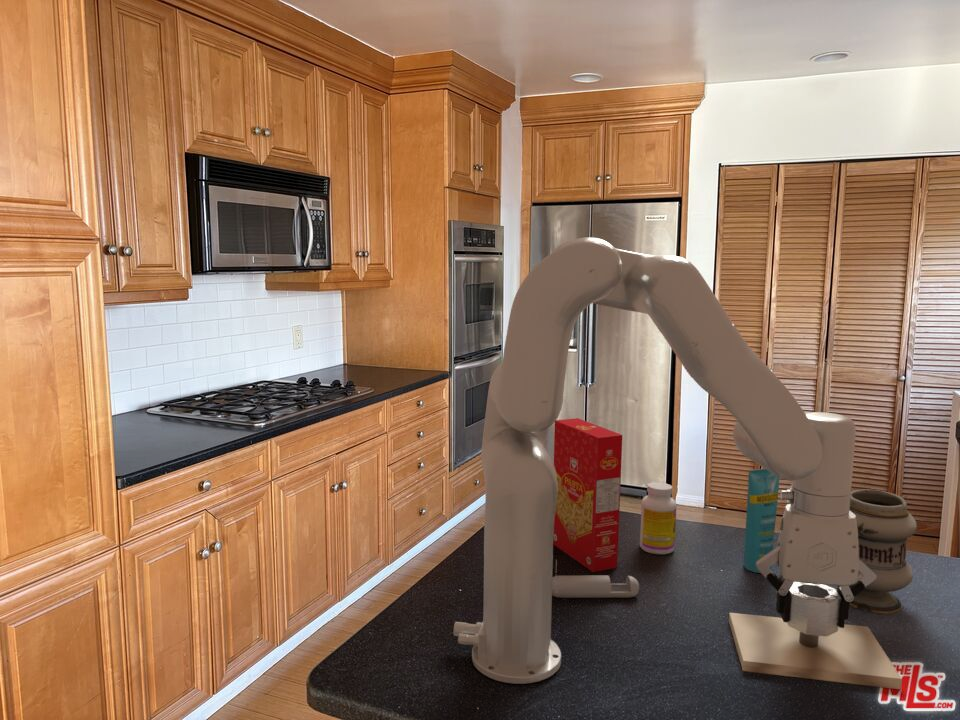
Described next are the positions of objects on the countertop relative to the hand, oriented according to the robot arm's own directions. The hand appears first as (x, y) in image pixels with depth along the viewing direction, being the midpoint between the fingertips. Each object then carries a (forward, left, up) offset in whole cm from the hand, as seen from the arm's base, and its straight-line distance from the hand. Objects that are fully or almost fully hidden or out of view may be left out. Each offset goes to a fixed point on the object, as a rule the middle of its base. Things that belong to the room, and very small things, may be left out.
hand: (811, 619), depth 104 cm
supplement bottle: (-20, +34, -5) cm, 40 cm away
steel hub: (0, 0, -1) cm, 1 cm away
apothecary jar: (+14, +20, -5) cm, 25 cm away
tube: (-2, +29, -5) cm, 30 cm away
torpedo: (-33, +11, -6) cm, 35 cm away
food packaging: (-34, +28, -5) cm, 45 cm away
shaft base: (0, 0, -5) cm, 5 cm away
